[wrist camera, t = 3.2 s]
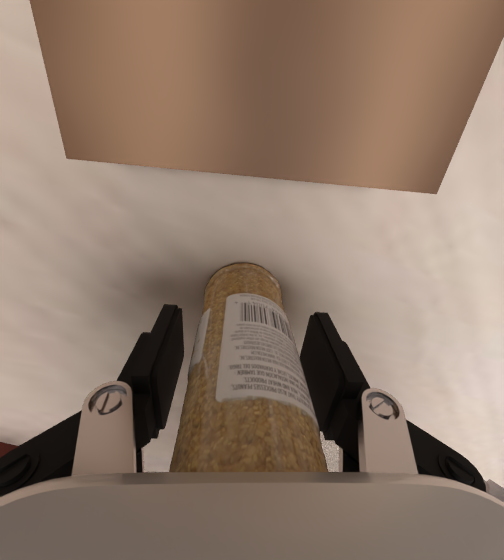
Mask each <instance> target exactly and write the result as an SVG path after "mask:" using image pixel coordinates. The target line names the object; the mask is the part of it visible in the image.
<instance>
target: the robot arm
mask: <svg viewBox="0 0 504 560" xmlns="http://www.w3.org/2000/svg"><path fill="white" fill-rule="evenodd" d="M183 357H184V342H183V321H182V309H181V308H178V306H177V305H168V304H165V305H164V306H163V308H162V310H161V312H160V314H159V316H158V318H157V320H156V323H155V325H154V327H153V329H152V331H151V333H148V332H143V333H142V334H141V335H140V337H139V339H138V341H137V343H136V345H135V347H134V349H133V351H132V352H131V354H130V356H129V358H128V360H127V362H126V364H125V366H124V368H123V370H122V372H121V374H120V375H119V377H118V379H117V381H113V382H108V383H105V384H102V385H100V386H99V387H97V388H95V389H94V390H93V391H92V392H91V393H89V395H88V396H87V397H86V399H85V401H84V403H83V407H82V410H81V411H80V412H78V413H76V414H74V415H73V416H71V417H69V418H67V419H66V420H64V421H62V422H60V423H59V424H57V425H55V426H53V427H52V428H50V429H48V430H46V431H45V432H43V433H41V434H39V435H38V436H36V437H34V438H32V439H31V440H29V441H27V442H25V443H24V444H22V445H20V446H18V447H16V448H15V449H13V450H11V451H9V452H8V453H6V454H5V455H4V456H2V457H1V458H0V560H504V488H503V487H501V486H499V485H498V484H496V483H495V482H493V481H492V480H490V479H489V480H488V481H487V482H486V481H485V480H483V478H482V476H481V474H480V473H479V472H478V470H477V469H476V468H475V467H474V466H473V465H472V464H471V463H470V461H469V460H467V459H466V458H465V457H463V456H462V455H461V454H459V453H458V452H456V451H455V450H453V449H451V448H450V447H448V446H447V445H445V444H444V443H442V442H441V441H439V440H437V439H436V438H434V437H433V436H431V435H430V434H428V433H427V432H425V431H423V430H422V429H420V428H419V427H417V426H416V425H414V424H413V423H411V422H409V421H408V420H406V418H405V414H404V410H403V408H402V406H401V405H400V403H399V402H398V401H397V400H396V399H395V398H394V397H393V396H392V395H390V394H389V393H387V392H385V391H383V390H381V389H376V388H370V386H369V384H368V383H367V381H366V379H365V377H364V375H363V373H362V371H361V369H360V368H359V366H358V364H357V362H356V360H355V358H354V356H353V355H352V353H351V351H350V349H349V347H348V345H347V344H346V342H344V341H342V340H341V338H340V336H339V334H338V332H337V330H336V328H335V326H334V324H333V322H332V320H331V318H330V317H329V315H328V313H320V312H315V313H314V315H311V316H310V318H309V322H308V326H307V330H306V334H305V338H304V342H303V346H302V350H301V354H300V362H301V366H302V369H303V373H304V376H305V380H306V383H307V387H308V390H309V394H310V397H311V401H312V405H313V408H314V412H315V415H316V419H317V422H318V426H319V431H323V434H324V438H325V440H334V441H335V444H337V445H338V446H339V472H146V473H144V459H143V447H144V446H145V445H147V444H148V443H149V442H150V440H151V438H157V437H158V434H159V430H160V429H164V428H165V426H166V422H167V418H168V414H169V411H170V407H171V403H172V399H173V396H174V392H175V388H176V384H177V381H178V377H179V373H180V369H181V365H182V362H183Z"/></svg>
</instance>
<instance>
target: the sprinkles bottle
mask: <svg viewBox="0 0 504 560" xmlns="http://www.w3.org/2000/svg"><path fill="white" fill-rule="evenodd" d="M281 298H282V294H281V288H280V286H279V283H278V282H277V280H276V278H275V277H274V276H273V275H272V274H271V273H270V272H268V271H267V270H265V269H264V268H262V267H259V266H256V265H253V264H248V263H239V264H233V265H231V266H227V267H225V268H222V269H220V270H219V271H218V272H217V273H215V274H214V275H213V277H212V278H211V279H210V281H209V283H208V284H207V287H206V289H205V293H204V302H205V304H204V309H203V313H202V318H201V320H200V322H199V325H198V329H197V334H196V338H195V343H194V348H193V353H192V357H191V362H190V367H189V372H188V385H187V391H186V394H185V400H184V404H183V409H182V414H181V419H180V425H179V429H178V435H177V439H176V444H175V447H174V452H173V457H172V461H171V465H170V471H169V472H328V469H327V464H326V459H325V456H324V453H323V450H322V446H321V440H320V431H319V426H318V422H317V419H316V415H315V412H314V408H313V405H312V401H311V397H310V394H309V390H308V387H307V383H306V380H305V376H304V373H303V369H302V366H301V362H300V358H299V355H298V351H297V348H296V344H295V341H294V338H293V334H292V331H291V328H290V324H289V321H288V319H287V316H286V315H285V312H284V308H283V304H282V302H281Z"/></svg>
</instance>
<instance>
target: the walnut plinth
mask: <svg viewBox="0 0 504 560" xmlns="http://www.w3.org/2000/svg"><path fill="white" fill-rule="evenodd" d="M30 4H31V8H32V12H33V17H34V21H35V25H36V29H37V34H38V38H39V42H40V47H41V51H42V55H43V59H44V64H45V68H46V72H47V77H48V81H49V85H50V90H51V94H52V98H53V102H54V107H55V111H56V115H57V120H58V124H59V128H60V132H61V137H62V141H63V145H64V150H65V154H66V158H67V159H76V160H87V161H97V162H107V163H118V164H128V165H139V166H149V167H160V168H170V169H180V170H191V171H201V172H212V173H222V174H232V175H243V176H253V177H264V178H274V179H285V180H295V181H305V182H316V183H326V184H337V185H347V186H358V187H368V188H378V189H389V190H399V191H410V192H420V193H430V194H437V192H438V190H439V187H440V185H441V183H442V180H443V178H444V175H445V173H446V171H447V168H448V166H449V164H450V161H451V159H452V157H453V154H454V152H455V150H456V147H457V145H458V143H459V140H460V138H461V135H462V133H463V131H464V128H465V126H466V124H467V121H468V119H469V117H470V114H471V112H472V110H473V107H474V105H475V103H476V100H477V98H478V96H479V93H480V91H481V88H482V86H483V84H484V81H485V79H486V77H487V74H488V72H489V70H490V67H491V65H492V63H493V60H494V58H495V56H496V53H497V51H498V48H499V46H500V44H501V41H502V39H503V37H504V0H30Z"/></svg>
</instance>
